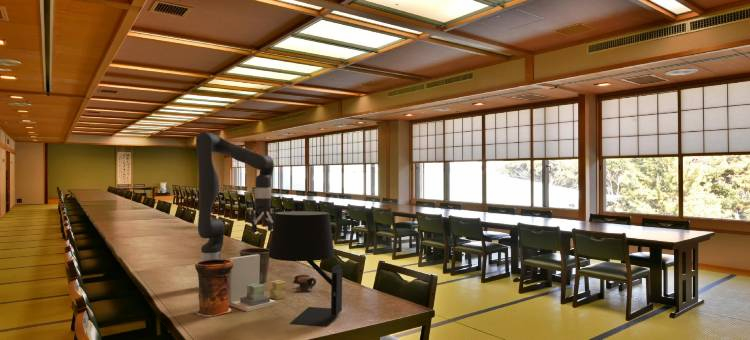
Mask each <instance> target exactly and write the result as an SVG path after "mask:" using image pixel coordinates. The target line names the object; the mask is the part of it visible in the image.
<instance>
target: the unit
mask: <svg viewBox="0 0 750 340" xmlns="http://www.w3.org/2000/svg"><path fill="white" fill-rule="evenodd" d="M228 259H229V260H231V261H233V268H232V269H231V271H230V275H229V307H233V308H236V309H239V310H241V311H244V312H247V313H248V312H251V311H252V312H253V311H256V310H259V309H265V308H267V307H272V306H276V305H277V301H276V300H273V299H271V297H270V296H268V295H264V298H262V299H257V300H250V299H247V285H251V284H256V283H258V284H259V276H260V255H258V254H256V255H249V256H242V257H240V256H235V257H229V258H228Z"/></svg>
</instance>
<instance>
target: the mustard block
mask: <svg viewBox="0 0 750 340" xmlns="http://www.w3.org/2000/svg"><path fill="white" fill-rule="evenodd" d="M269 297H270V299H271V298H272V299H275V300H279V299H283V298H286V297H287V281H285V280H282V279H276V280H271V281H269Z"/></svg>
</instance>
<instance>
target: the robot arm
mask: <svg viewBox="0 0 750 340" xmlns="http://www.w3.org/2000/svg"><path fill="white" fill-rule="evenodd" d="M195 148H196V154H197V155H196V156H197V165H198V166H197V168H198V171H197V172H198V199H199V200H198V205H199V206H198V220H197V232H198V234H199V237H200V238H202V239H208V240H207V241H206V242H205V244H203V245H201V248H200V253H201V254H200V261H205V260H213V259H220V260H222V248H223V246H224V235H225V234H224V233H225V225H224V222H223V220H222V219H220V218H212V209H213V205H214V203H215V201H216V200H217V198H218V196H219V192H220V180H219V176H218V173H217V170H216V168H215V166H214V163H213V157H212V154H213V153H219V154H223V155H226V156H228V157H230V158H231V159H233V160H235V161H237V162H240V163H242V164H246V165H248V166H249V167H252V168H254V169H255V170H259V173H258V174H257V175H256V178H255V191H254V210H252V209H250V210H248V218H247V223H248V224H250V225H251V232H252V233H256V234H257V231H258V229H257V228H258V226H257V223H258V222H259V221H260V220H264V219H265V220H266V221H267V222H268V223H267V231H268V232H272V230H273V224H274V218H275V213H276V212H277V210H276V208H272V188H271V187H272V181H271V179H272V176H273V172H274V166H275V163H274V162H275V161H274V159H273V158H272V157H271V156H270V155H265V154H264V155H263V154H259V153H256V152H255V151H254V150H251V149H249V148H247V147H243V146H240V145H237V144H235V143H232V142H230V141H227V140H225V139H224V138H222V137H220V136H219V135H217V134H215V133H213V132H207V131H202V132H200V133H198V135H197V136H196V139H195Z"/></svg>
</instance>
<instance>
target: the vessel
mask: <svg viewBox="0 0 750 340" xmlns="http://www.w3.org/2000/svg"><path fill="white" fill-rule="evenodd" d="M194 268H195V271H196V272H197V277H198V305H199V306H198V307H199V309H198V310H199V311H198V310H197V311H195V312H194V314H195V315H198V316H203V317H212V316H213V317H215V316H218V315H222V314H227V313H228V314H229V313H231V312H232V308H230V306H229V275H230V271H231V269H232V268H233V261H231V260H229V258H227V259H226V258H224V259H221V260H220V259H213V260H205V261H201V260H200V261H196V262H195V264H194Z"/></svg>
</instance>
